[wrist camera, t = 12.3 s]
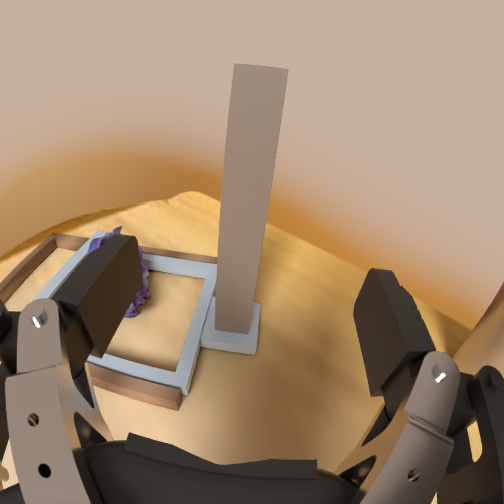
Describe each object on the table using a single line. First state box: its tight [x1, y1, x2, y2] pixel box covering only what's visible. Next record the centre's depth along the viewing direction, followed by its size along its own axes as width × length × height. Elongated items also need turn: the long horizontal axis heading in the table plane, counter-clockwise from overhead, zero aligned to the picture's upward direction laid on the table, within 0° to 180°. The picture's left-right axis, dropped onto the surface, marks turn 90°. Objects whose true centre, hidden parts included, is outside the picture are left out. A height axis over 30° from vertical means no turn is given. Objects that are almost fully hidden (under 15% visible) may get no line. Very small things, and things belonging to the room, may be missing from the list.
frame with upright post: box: [33, 64, 288, 396], centre depth 21 cm, size 22×17×23 cm
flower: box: [86, 226, 156, 318], centre depth 26 cm, size 9×9×10 cm
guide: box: [0, 233, 217, 411], centre depth 27 cm, size 28×20×2 cm
